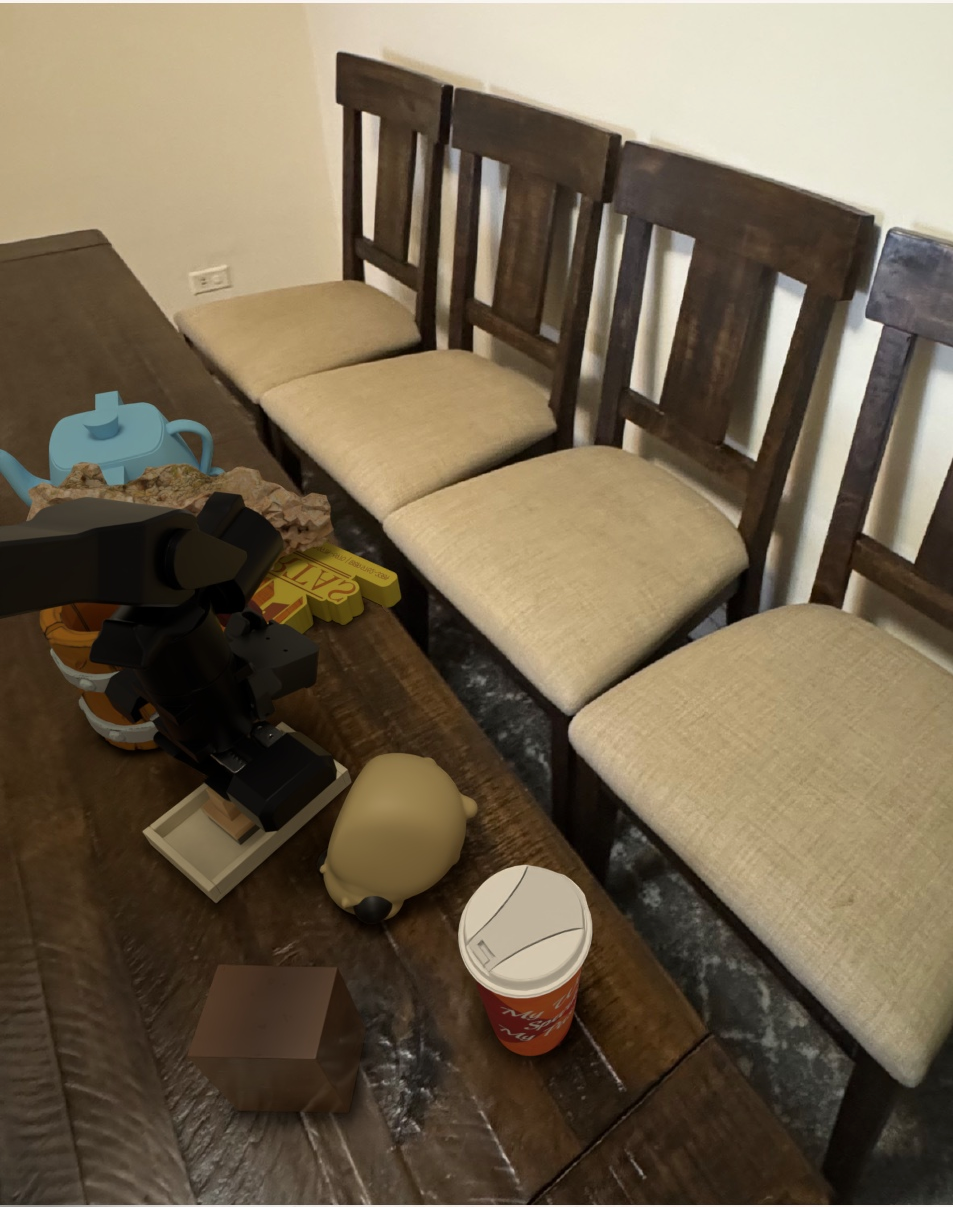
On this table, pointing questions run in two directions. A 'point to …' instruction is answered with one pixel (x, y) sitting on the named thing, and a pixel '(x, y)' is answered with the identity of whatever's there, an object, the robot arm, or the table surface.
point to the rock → (200, 497)
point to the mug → (98, 670)
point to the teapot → (113, 445)
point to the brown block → (280, 1038)
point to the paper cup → (527, 954)
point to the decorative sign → (323, 587)
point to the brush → (228, 817)
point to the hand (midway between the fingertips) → (249, 794)
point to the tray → (225, 838)
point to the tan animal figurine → (394, 835)
